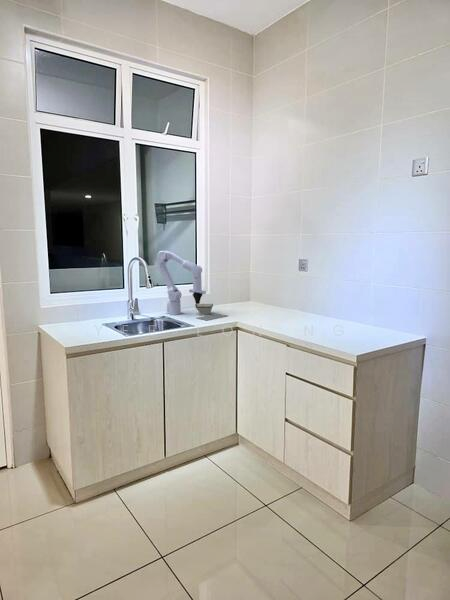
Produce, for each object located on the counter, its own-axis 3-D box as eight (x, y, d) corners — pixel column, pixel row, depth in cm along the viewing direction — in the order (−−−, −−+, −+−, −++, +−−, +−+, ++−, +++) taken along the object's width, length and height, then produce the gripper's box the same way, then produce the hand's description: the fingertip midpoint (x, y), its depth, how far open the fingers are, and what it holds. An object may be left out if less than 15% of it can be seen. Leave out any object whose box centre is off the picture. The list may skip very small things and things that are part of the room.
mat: (196, 318, 253) (196, 318, 253) (217, 314, 267) (217, 313, 267) (206, 320, 246) (206, 320, 246) (228, 316, 260) (228, 315, 260)
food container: (213, 316, 265) (212, 311, 275) (213, 307, 263) (212, 303, 273) (195, 316, 264) (195, 311, 273) (195, 308, 262) (195, 303, 272)
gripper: (185, 283, 265) (186, 303, 267) (200, 285, 255) (200, 305, 257) (193, 282, 270) (193, 302, 272) (208, 284, 260) (208, 304, 262)
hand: (197, 303), depth 265 cm, fingers closed
